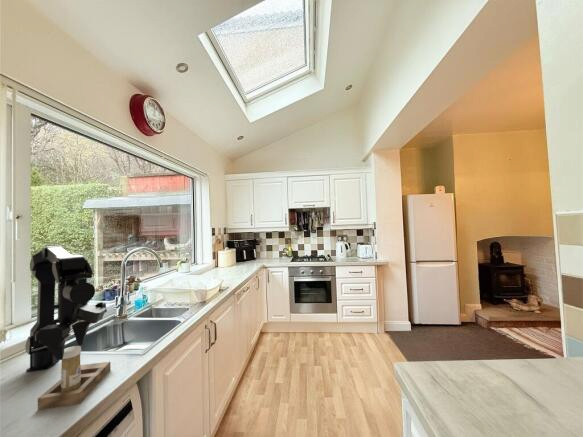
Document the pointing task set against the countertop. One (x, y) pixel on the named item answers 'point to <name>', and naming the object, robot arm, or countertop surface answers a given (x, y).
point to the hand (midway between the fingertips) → (70, 351)
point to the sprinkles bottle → (71, 369)
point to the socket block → (88, 382)
